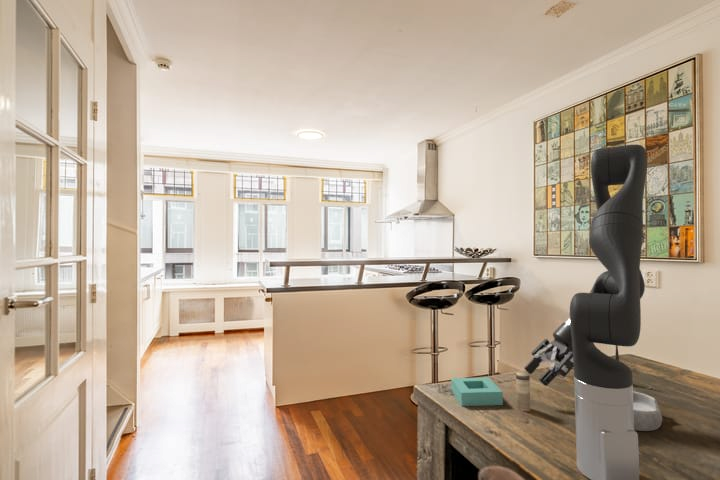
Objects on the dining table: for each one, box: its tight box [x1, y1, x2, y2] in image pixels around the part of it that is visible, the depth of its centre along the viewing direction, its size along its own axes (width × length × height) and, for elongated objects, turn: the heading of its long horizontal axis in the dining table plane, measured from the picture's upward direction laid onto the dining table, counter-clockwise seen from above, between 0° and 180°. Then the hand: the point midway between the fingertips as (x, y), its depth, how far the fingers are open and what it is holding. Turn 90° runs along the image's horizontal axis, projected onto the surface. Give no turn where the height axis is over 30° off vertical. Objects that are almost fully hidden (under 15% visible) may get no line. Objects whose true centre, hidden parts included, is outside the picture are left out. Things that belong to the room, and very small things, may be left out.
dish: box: [633, 391, 663, 432], centre depth 91 cm, size 14×14×5 cm
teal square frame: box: [450, 376, 504, 407], centre depth 106 cm, size 11×11×4 cm
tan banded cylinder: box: [515, 371, 532, 412], centre depth 98 cm, size 3×3×9 cm
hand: (534, 377), depth 98 cm, fingers open, 8 cm apart
